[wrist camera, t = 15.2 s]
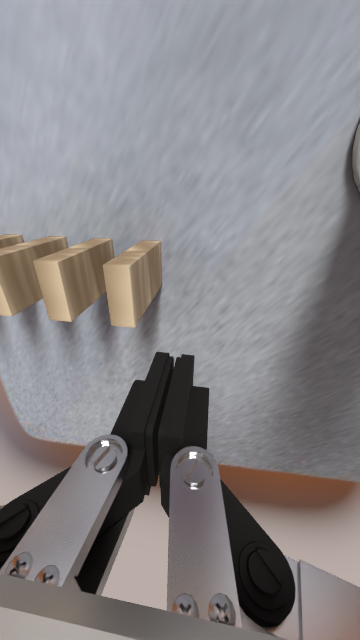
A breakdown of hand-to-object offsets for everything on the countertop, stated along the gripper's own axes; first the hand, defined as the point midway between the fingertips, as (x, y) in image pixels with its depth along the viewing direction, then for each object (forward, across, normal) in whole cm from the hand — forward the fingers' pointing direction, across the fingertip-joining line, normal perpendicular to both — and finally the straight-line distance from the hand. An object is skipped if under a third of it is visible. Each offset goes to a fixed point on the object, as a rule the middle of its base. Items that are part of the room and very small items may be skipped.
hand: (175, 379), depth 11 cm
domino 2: (+18, +11, 0) cm, 21 cm away
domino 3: (+18, +5, 0) cm, 19 cm away
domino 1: (+18, +16, 0) cm, 24 cm away
